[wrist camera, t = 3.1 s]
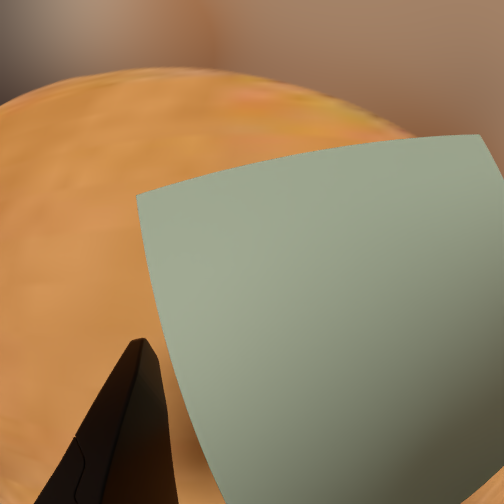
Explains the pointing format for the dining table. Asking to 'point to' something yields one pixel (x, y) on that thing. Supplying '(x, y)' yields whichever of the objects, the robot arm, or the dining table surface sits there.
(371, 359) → the sage green block
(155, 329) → the dining table surface
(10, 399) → the dining table surface
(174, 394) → the dining table surface
